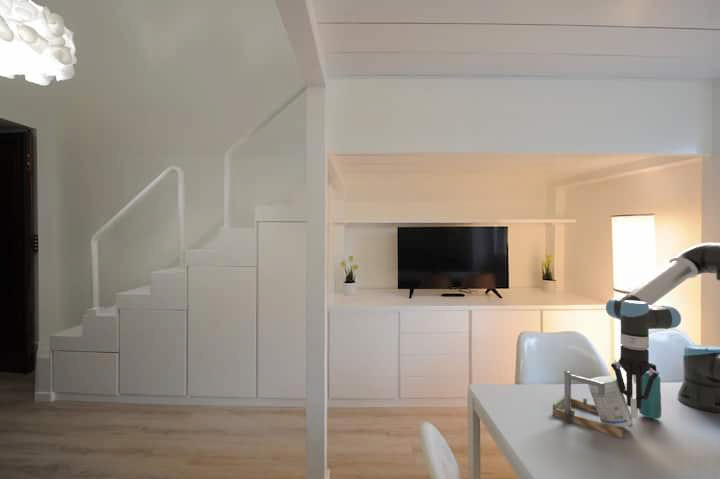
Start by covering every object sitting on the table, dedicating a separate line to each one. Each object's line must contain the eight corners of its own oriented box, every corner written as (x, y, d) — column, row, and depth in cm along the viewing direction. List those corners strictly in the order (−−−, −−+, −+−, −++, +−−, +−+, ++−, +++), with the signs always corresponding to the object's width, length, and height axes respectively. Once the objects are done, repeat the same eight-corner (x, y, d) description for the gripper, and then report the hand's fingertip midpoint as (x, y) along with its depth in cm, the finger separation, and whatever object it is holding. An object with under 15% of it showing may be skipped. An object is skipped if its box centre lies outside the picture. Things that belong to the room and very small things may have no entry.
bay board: (632, 423, 125) (632, 411, 125) (621, 438, 115) (621, 426, 115) (567, 402, 141) (567, 392, 141) (552, 414, 131) (552, 404, 131)
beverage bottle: (665, 424, 125) (665, 367, 125) (644, 422, 126) (644, 366, 126) (654, 415, 131) (654, 361, 131) (634, 413, 133) (634, 360, 133)
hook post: (604, 433, 118) (604, 380, 119) (603, 435, 117) (603, 381, 117) (565, 420, 127) (565, 370, 128) (563, 421, 126) (563, 371, 126)
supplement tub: (611, 416, 129) (596, 375, 132) (639, 420, 120) (623, 376, 124) (595, 425, 124) (580, 382, 128) (624, 430, 116) (607, 384, 119)
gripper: (608, 344, 121) (608, 413, 121) (657, 353, 112) (657, 428, 111) (613, 340, 126) (613, 406, 126) (661, 349, 117) (661, 420, 116)
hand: (634, 416), depth 119 cm, fingers closed
